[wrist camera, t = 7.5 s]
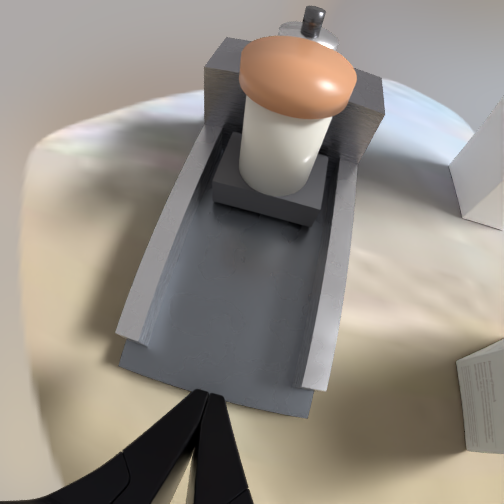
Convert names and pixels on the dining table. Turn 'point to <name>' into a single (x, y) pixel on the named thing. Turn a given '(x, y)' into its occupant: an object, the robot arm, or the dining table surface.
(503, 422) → the supplement box
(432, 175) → the dining table surface
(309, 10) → the potentiometer
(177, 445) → the robot arm
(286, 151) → the knob
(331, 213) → the mount
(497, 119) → the milk
